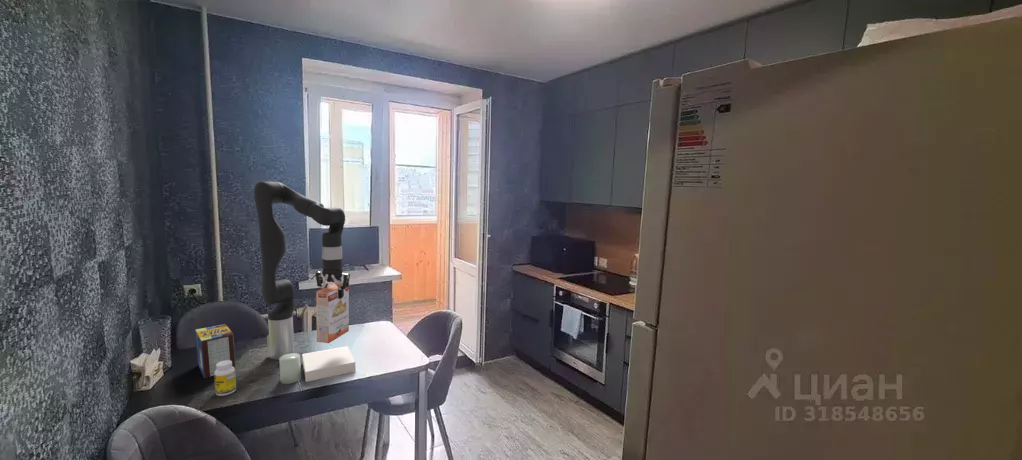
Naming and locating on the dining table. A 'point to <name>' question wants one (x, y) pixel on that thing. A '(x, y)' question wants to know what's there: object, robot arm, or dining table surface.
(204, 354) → the protein box
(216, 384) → the pill bottle
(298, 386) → the dining table surface
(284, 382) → the pale green rounded block
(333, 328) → the cracker box
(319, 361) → the block
